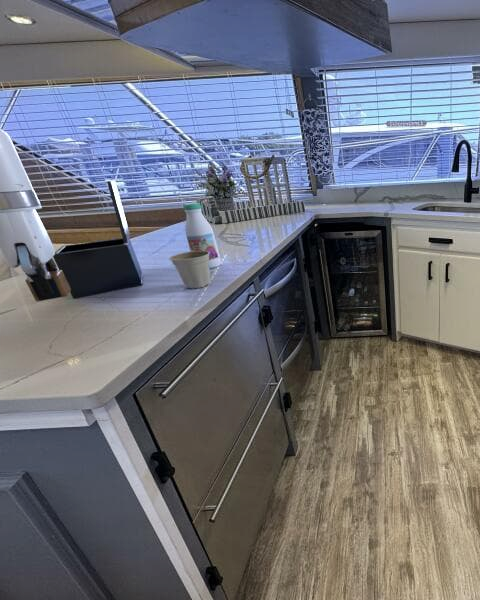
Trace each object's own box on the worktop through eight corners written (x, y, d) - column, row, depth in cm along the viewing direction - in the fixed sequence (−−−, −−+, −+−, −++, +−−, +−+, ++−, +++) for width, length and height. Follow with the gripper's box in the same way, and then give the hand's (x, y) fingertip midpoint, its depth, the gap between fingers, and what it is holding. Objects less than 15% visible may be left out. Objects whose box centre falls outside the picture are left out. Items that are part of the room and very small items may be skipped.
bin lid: (106, 181, 80) (110, 181, 81) (111, 180, 90) (114, 180, 90) (124, 243, 86) (128, 242, 86) (126, 235, 95) (130, 235, 96)
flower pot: (209, 277, 95) (201, 248, 92) (223, 283, 90) (215, 253, 86) (173, 286, 89) (163, 256, 85) (187, 294, 83) (176, 261, 80)
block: (36, 301, 63) (25, 280, 61) (41, 294, 66) (31, 274, 64) (67, 296, 65) (57, 275, 63) (71, 289, 69) (62, 269, 67)
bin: (73, 298, 83) (51, 254, 78) (81, 285, 92) (62, 245, 88) (142, 285, 91) (126, 244, 86) (143, 274, 100) (129, 237, 96)
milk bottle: (199, 264, 109) (180, 203, 101) (224, 261, 111) (208, 201, 103) (193, 270, 102) (172, 206, 94) (219, 267, 104) (202, 204, 96)
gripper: (-5, 200, 63) (38, 287, 70) (-44, 208, 50) (14, 313, 57) (48, 197, 67) (84, 279, 74) (25, 204, 54) (71, 303, 61)
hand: (53, 293), depth 66 cm, fingers closed on block, 4 cm apart
